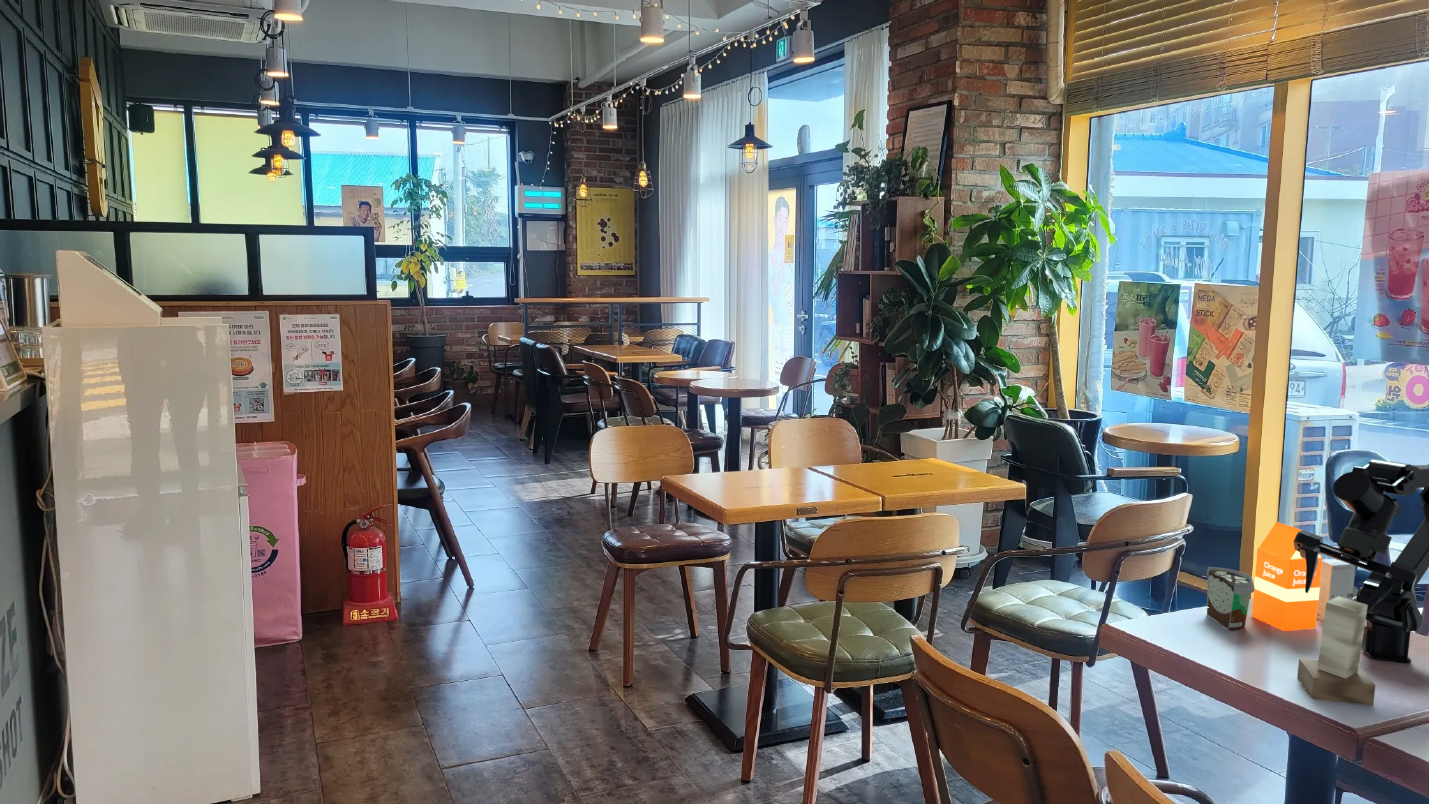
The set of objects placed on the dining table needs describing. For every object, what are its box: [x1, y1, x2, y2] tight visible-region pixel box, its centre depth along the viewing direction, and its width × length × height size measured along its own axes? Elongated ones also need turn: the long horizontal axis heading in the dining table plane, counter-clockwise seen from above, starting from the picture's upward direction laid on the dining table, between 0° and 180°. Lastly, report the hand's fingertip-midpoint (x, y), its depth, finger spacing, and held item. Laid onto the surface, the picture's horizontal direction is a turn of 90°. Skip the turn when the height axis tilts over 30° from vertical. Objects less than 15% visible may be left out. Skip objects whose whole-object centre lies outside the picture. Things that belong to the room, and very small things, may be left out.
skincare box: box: [1316, 558, 1357, 622], centre depth 206 cm, size 6×4×12 cm
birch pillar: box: [1317, 596, 1368, 679], centre depth 168 cm, size 4×4×12 cm
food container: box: [1206, 566, 1255, 632], centre depth 203 cm, size 12×6×10 cm, turn 179°
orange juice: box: [1251, 521, 1323, 632], centre depth 203 cm, size 8×9×20 cm
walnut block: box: [1296, 657, 1376, 707], centre depth 170 cm, size 9×9×4 cm
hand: (1334, 603), depth 177 cm, fingers open, 9 cm apart
